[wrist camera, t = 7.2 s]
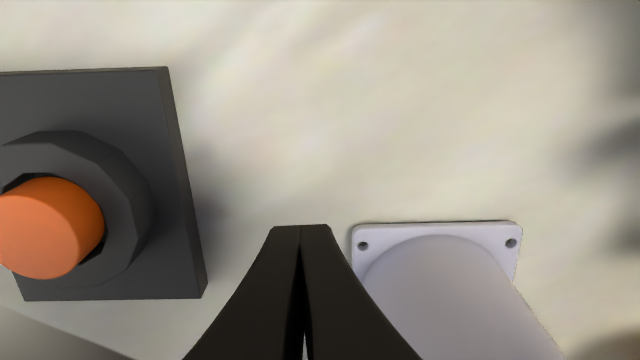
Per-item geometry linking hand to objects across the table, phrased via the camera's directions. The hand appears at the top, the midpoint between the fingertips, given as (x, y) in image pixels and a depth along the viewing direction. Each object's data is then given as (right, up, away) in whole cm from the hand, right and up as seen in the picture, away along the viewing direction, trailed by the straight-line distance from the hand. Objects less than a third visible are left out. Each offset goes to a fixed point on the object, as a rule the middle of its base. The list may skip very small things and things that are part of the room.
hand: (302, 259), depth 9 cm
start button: (-10, 0, +6) cm, 12 cm away
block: (-10, +1, +9) cm, 13 cm away
